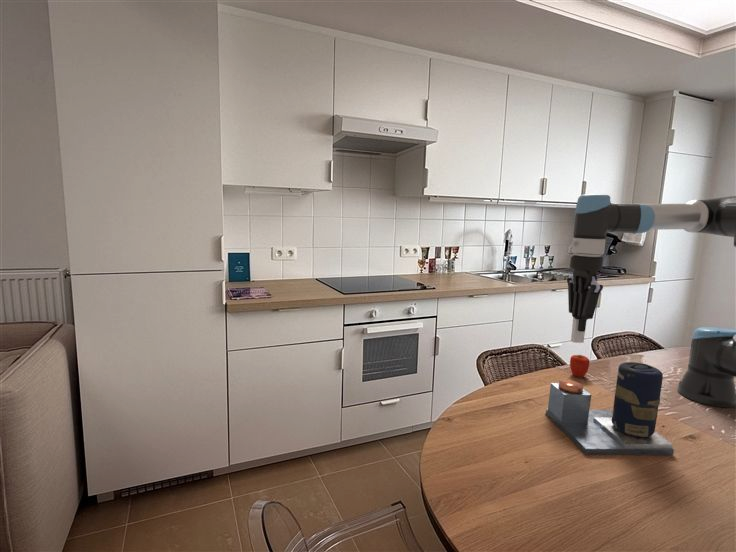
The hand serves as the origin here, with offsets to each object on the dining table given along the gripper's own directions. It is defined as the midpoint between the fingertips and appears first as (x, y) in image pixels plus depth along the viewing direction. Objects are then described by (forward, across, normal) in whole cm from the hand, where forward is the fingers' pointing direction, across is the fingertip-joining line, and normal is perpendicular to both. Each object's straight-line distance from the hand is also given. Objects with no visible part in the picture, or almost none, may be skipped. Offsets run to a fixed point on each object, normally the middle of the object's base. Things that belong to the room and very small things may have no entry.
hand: (577, 341), depth 111 cm
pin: (+21, 0, 0) cm, 21 cm away
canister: (+21, +9, +12) cm, 26 cm away
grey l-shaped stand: (+23, +6, +6) cm, 25 cm away
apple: (+23, -33, +22) cm, 46 cm away
